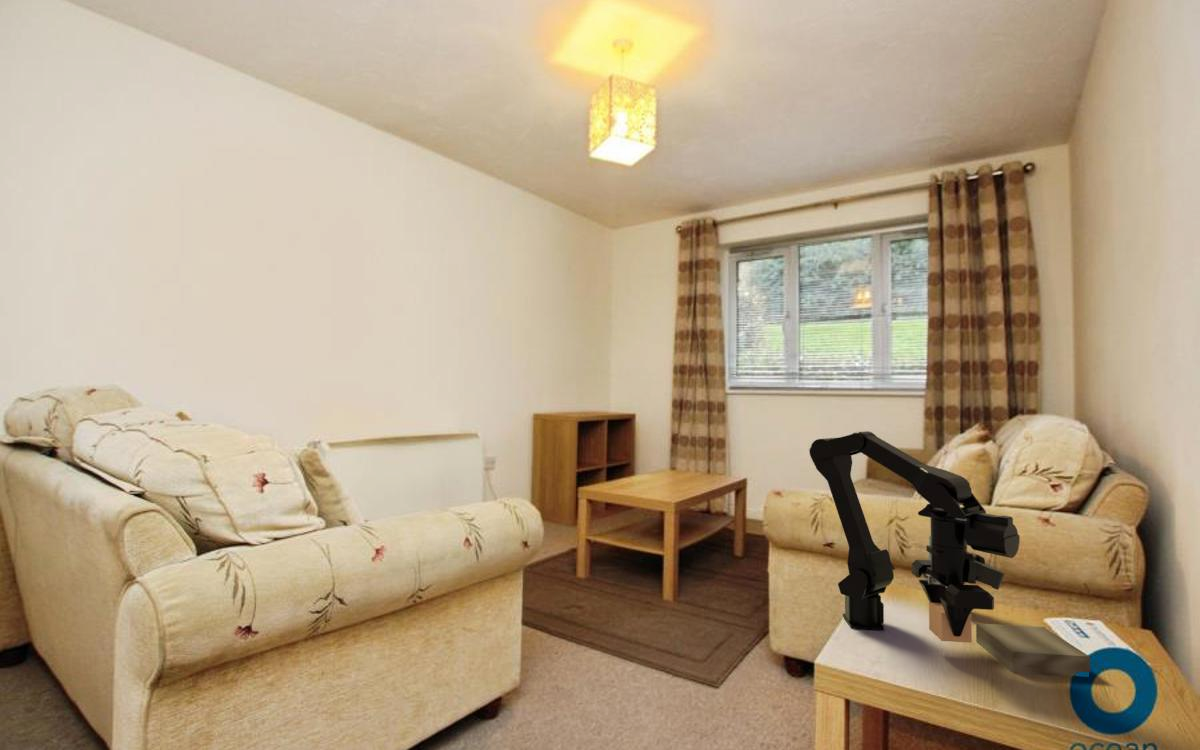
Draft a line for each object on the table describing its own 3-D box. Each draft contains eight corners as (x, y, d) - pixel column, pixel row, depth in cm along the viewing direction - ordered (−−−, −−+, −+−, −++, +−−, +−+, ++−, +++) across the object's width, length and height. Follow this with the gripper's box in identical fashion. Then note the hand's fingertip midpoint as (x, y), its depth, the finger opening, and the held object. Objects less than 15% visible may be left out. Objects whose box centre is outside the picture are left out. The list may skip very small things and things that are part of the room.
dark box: (1013, 675, 97) (1012, 651, 97) (976, 644, 109) (976, 623, 109) (1090, 680, 95) (1089, 656, 96) (1044, 648, 107) (1044, 627, 107)
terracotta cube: (941, 640, 101) (941, 612, 101) (929, 629, 106) (928, 602, 106) (971, 642, 100) (971, 614, 100) (957, 630, 105) (957, 603, 105)
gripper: (1027, 561, 93) (1029, 656, 93) (969, 533, 112) (970, 612, 111) (955, 558, 95) (956, 652, 94) (909, 530, 113) (910, 609, 113)
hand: (949, 629), depth 103 cm, fingers closed on terracotta cube, 5 cm apart
